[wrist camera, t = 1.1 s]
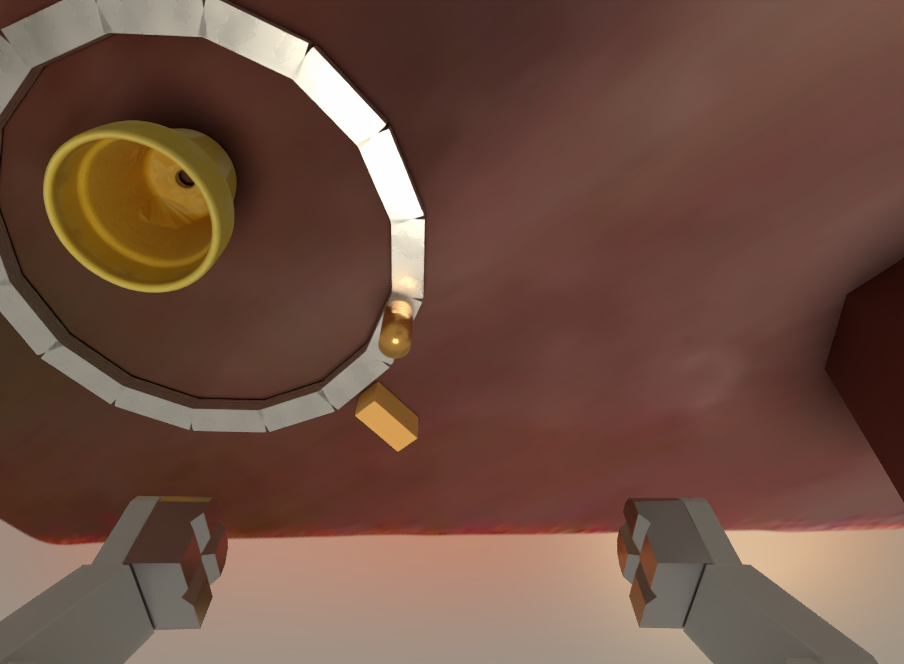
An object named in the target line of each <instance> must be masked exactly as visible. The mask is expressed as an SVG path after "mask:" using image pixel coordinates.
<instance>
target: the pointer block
mask: <svg viewBox="0 0 904 664" xmlns="http://www.w3.org/2000/svg"><path fill="white" fill-rule="evenodd" d="M355 416H356V417H357V418H358V419H360V420H361V421H362V422H363V423H364V424H366V425H367V426H368V427H369V428H370V429H372V430H373V431H374V432H375V433H376V434H378V435H379V436H380V437H381V438H382V439H383V440H385V441H386V442H387V443H388V444H389V445H391V446H392V447H393V448H394V449H395V450H397V451H400V450H401V449H403V448H404V447H405V446H407V445H408V444H410V443H411V442H413V441H414V440H416V439H417V437H418V419H419V417H417V416H416V415H415V414H414V413H413V412H412V411H411V410H410V409H409V408H407V407H406V406H405V405H404V404H403V403H402V402H401V401H400V400H398V399H397V398H396V397H395V396H394V395H393V394H392V393H391V392H389V391H388V390H387V389H386V388H385V387H384V386H383V385H382V384H380V383H379V382H376V383H375V384H374V385H372V386H371V387H370V388H368V389H367V390H366V391H364V392H363V393H362V394H360V395H359V399H358V404H357V408H356V413H355Z"/></svg>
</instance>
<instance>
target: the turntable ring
mask: <svg viewBox="0 0 904 664" xmlns="http://www.w3.org/2000/svg"><path fill="white" fill-rule="evenodd" d="M1 30H2V32H1V33H0V154H1V142H2V131H3V127H4V125H5V124H6V122H7V121H8V119H9V118H10V116H11V115H12V113H13V112H14V111H15V109H16V108H17V106H18V105H19V103H20V102H21V100H22V99H23V97H24V96H25V94H26V93H27V92H28V90H29V89H30V87H31V86H32V84H33V83H34V81H35V80H36V78H37V77H38V76H39V74H40V73H41V71H42V70H43V68H44V67H45V66H46V65H48V64H50V63H52V62H54V61H57V60H59V59H61V58H63V57H65V56H67V55H70V54H72V53H74V52H76V51H78V50H81V49H83V48H85V47H87V46H89V45H92V44H94V43H96V42H98V41H100V40H103V39H105V38H107V37H109V36H111V35H114V34H116V33H126V34H148V35H171V36H193V37H204V38H206V39H208V40H210V41H212V42H215V43H217V44H219V45H221V46H223V47H225V48H227V49H229V50H232V51H234V52H236V53H238V54H240V55H242V56H244V57H246V58H249V59H251V60H253V61H255V62H257V63H259V64H261V65H263V66H266V67H268V68H270V69H272V70H274V71H276V72H278V73H281V74H283V75H285V76H287V77H289V78H291V79H293V80H294V81H295V82H296V83H297V84H298V85H299V86H300V87H301V88H302V89H303V91H304V92H305V93H306V94H307V95H308V96H309V97H310V98H311V99H312V100H313V101H314V102H315V103H316V104H317V105H318V106H319V107H320V108H321V109H322V110H323V111H324V112H325V113H326V114H327V115H328V116H329V117H330V118H331V119H332V120H333V121H334V122H335V123H336V124H337V125H338V126H339V127H340V128H341V129H342V130H343V131H344V132H345V133H346V134H347V135H348V137H349V138H350V139H351V140H352V141H353V142H354V143H355V144H356V145H357V146H358V147H359V150H360V152H361V154H362V156H363V159H364V161H365V163H366V166H367V168H368V170H369V173H370V175H371V177H372V179H373V182H374V184H375V186H376V189H377V191H378V193H379V196H380V198H381V200H382V202H383V205H384V207H385V209H386V212H387V214H388V216H389V218H390V221H391V241H392V290H391V292H390V295H389V297H388V299H387V301H386V303H385V306H384V308H383V310H382V312H381V314H380V317H379V319H378V321H377V323H376V325H375V328H374V330H373V332H372V334H371V336H370V338H369V341H368V343H367V344H365V345H364V346H363V347H362V348H361V349H360V350H358V351H357V352H356V353H355V354H354V355H353V356H351V357H350V358H349V359H348V360H347V361H346V362H344V363H343V364H342V365H341V366H340V367H339V368H337V369H336V370H335V371H334V372H333V373H332V374H330V375H329V376H328V377H327V378H326V379H324V380H323V381H322V382H319V383H316V384H313V385H310V386H307V387H303V388H300V389H297V390H294V391H291V392H288V393H285V394H282V395H279V396H276V397H273V398H269V399H266V400H226V399H197V398H194V397H191V396H188V395H185V394H182V393H179V392H176V391H173V390H170V389H167V388H164V387H161V386H158V385H155V384H152V383H149V382H146V381H143V380H140V379H137V378H134V377H131V376H130V375H128V374H127V373H125V372H124V371H122V370H121V369H119V368H118V367H117V366H115V365H114V364H112V363H111V362H109V361H108V360H106V359H105V358H103V357H102V356H101V355H99V354H98V353H96V352H95V351H93V350H92V349H90V348H89V347H88V346H86V345H85V344H83V343H82V342H80V341H79V340H77V339H76V338H74V337H73V336H72V335H70V334H69V333H68V331H67V330H66V329H65V328H64V326H63V325H62V324H61V323H60V321H59V320H58V319H57V318H56V316H55V315H54V314H53V313H52V311H51V310H50V309H49V308H48V306H47V305H46V304H45V303H44V302H43V300H42V299H41V298H40V297H39V295H38V294H37V293H36V292H35V290H34V289H33V288H32V287H31V285H30V284H29V283H28V282H27V280H26V279H25V278H24V277H23V275H22V274H21V271H20V268H19V265H18V262H17V259H16V257H15V254H14V251H13V248H12V245H11V242H10V239H9V237H8V234H7V231H6V228H5V225H4V222H3V219H2V217H1V214H0V312H1V313H2V314H3V315H4V316H5V317H6V319H7V320H8V321H9V322H10V323H11V325H12V326H13V327H14V328H15V329H16V330H17V332H18V333H19V334H20V335H21V336H22V337H23V339H24V340H25V341H26V342H27V343H28V345H29V346H30V347H31V348H32V349H33V350H34V352H35V353H36V354H37V355H39V354H42V353H45V352H46V353H45V354H44V355H43V356H42V358H41V359H43V360H44V361H46V362H48V363H49V364H51V365H52V366H54V367H55V368H57V369H58V370H60V371H61V372H63V373H64V374H66V375H67V376H69V377H70V378H72V379H73V380H75V381H76V382H78V383H79V384H81V385H82V386H84V387H85V388H87V389H89V390H90V391H92V392H93V393H95V394H96V395H98V396H99V397H101V398H102V399H104V400H105V401H107V402H108V403H110V404H111V403H112V402H113V401H114V400H115V399H116V402H115V406H116V407H119V408H122V409H126V410H129V411H132V412H135V413H138V414H141V415H144V416H147V417H151V418H154V419H157V420H160V421H163V422H166V423H169V424H172V425H175V426H179V427H182V428H185V429H188V430H189V429H190V428H191V426H192V428H193V431H232V432H266V431H267V429H268V430H269V432H271V431H274V430H277V429H280V428H283V427H286V426H290V425H293V424H296V423H299V422H302V421H306V420H309V419H312V418H315V417H318V416H322V415H325V414H328V413H331V412H334V411H335V409H339V408H341V407H342V406H343V405H344V404H346V403H347V402H348V401H349V400H350V399H352V398H353V397H354V396H355V395H357V394H358V393H359V392H360V391H361V390H363V389H364V388H365V387H366V386H368V385H369V384H370V383H371V382H372V381H374V380H375V379H376V378H377V377H378V376H380V375H381V374H382V373H383V372H385V371H386V370H387V369H388V368H389V367H390V364H391V365H392V363H393V361H394V359H397V358H401V357H404V356H405V355H406V354H407V353H408V352H409V350H410V347H411V336H412V325H413V320H414V318H415V316H416V314H417V312H418V310H419V308H420V306H421V304H422V298H423V292H424V245H425V213H424V207H423V205H422V202H421V200H420V197H419V195H418V192H417V190H416V187H415V185H414V182H413V180H412V177H411V175H410V172H409V170H408V167H407V165H406V162H405V160H404V157H403V155H402V152H401V150H400V147H399V145H398V142H397V140H396V137H395V135H394V132H393V130H392V127H391V125H390V126H387V127H384V126H385V125H386V124H387V121H388V120H387V119H386V118H385V117H384V116H383V115H382V114H381V113H380V112H379V111H378V110H377V109H376V107H375V106H374V105H373V104H372V103H371V102H370V101H369V100H368V99H367V98H366V97H365V96H364V95H363V94H362V92H361V91H360V90H359V89H358V88H357V87H356V86H355V85H354V84H353V83H352V82H351V81H350V80H349V79H348V77H347V76H346V75H345V74H344V73H343V72H342V71H341V70H340V69H339V68H338V67H337V66H336V65H335V64H334V62H333V61H332V60H331V59H330V58H329V57H328V56H327V55H326V54H325V53H324V52H323V51H322V50H321V49H320V47H319V46H318V45H317V46H314V47H313V48H312V49H311V46H312V43H313V42H312V41H310V40H308V39H306V38H304V37H302V36H300V35H298V34H296V33H294V32H292V31H289V30H287V29H285V28H283V27H281V26H279V25H277V24H275V23H273V22H271V21H269V20H267V19H265V18H263V17H261V16H259V15H257V14H255V13H253V12H251V11H249V10H246V9H244V8H242V7H240V6H238V5H236V4H234V3H232V2H230V1H228V0H62V1H60V2H58V3H56V4H54V5H52V6H50V7H48V8H46V9H43V10H41V11H39V12H37V13H35V14H33V15H31V16H29V17H27V18H24V19H22V20H20V21H18V22H16V23H14V24H12V25H10V26H8V27H5V28H3V29H1ZM383 127H384V128H383Z"/></svg>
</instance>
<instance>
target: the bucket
mask: <svg viewBox="0 0 904 664" xmlns="http://www.w3.org/2000/svg"><path fill="white" fill-rule="evenodd" d="M825 370H826V371H827V373H828V375H829V376H830V378H831V380H832V381H833V383H834V385H835V386H836V388H837V390H838V392H839V393H840V395H841V397H842V398H843V400H844V402H845V403H846V405H847V407H848V408H849V410H850V412H851V414H852V415H853V417H854V419H855V420H856V422H857V424H858V425H859V427H860V429H861V431H862V432H863V434H864V436H865V437H866V439H867V441H868V442H869V444H870V446H871V447H872V449H873V451H874V453H875V454H876V456H877V458H878V459H879V461H880V463H881V464H882V466H883V468H884V469H885V471H886V473H887V475H888V476H889V478H890V480H891V481H892V483H893V485H894V486H895V488H896V490H897V491H898V493H899V495H900V497H901V498H902V500H903V502H904V259H902V260H900V261H899V262H897V263H896V264H894V265H893V266H891V267H890V268H888V269H886V270H885V271H883V272H882V273H880V274H879V275H877V276H875V277H874V278H872V279H871V280H869V281H868V282H866V283H865V284H863V285H861V286H860V287H858V288H857V289H855V290H854V291H852V292H850V293H849V294H847V296H846V299H845V303H844V306H843V309H842V313H841V316H840V319H839V323H838V326H837V329H836V333H835V336H834V340H833V343H832V346H831V350H830V353H829V356H828V360H827V363H826V367H825Z"/></svg>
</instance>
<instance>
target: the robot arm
mask: <svg viewBox="0 0 904 664" xmlns="http://www.w3.org/2000/svg"><path fill="white" fill-rule="evenodd" d="M623 513H624V516H625V519H626V523H625V524H624V525H622V526H621V527H620V528H619V533H618V540H617V552H618V553H617V554H618V559H619V565H620V568H621V571H622V574H623V576H624V578H626V579H627V580H628V581H629V582H630V583H631V584H632V587H631V591H630V595H629V597H630V600H631V603H632V606H633V609H634V612H635V615H636V619H637V622H638V625H639V627H645V628H683V629H684V630H683V631H684V632H685V633H686V634H687V635H688V636H689V638H691V640H692V641H693V642H694V643H695V644H696V645H697V646H698V647H699V648H700V649H701V650H702V652H703V653H704V654H705V655H706V656H707V657H708V658H709V659H710V660H711V661H712V662H713V663H714V664H878V663H877V661H876V660H875V659H874V657H873V656H872V655H871V654H869V653H868V652H867V651H865V650H864V649H863V648H861V647H860V646H858V645H857V644H856V643H855V642H853V641H852V640H851V639H849V638H848V637H846V636H845V635H844V634H843V633H841V632H840V631H838V630H837V629H836V628H834V627H833V626H832V625H830V624H829V623H828V622H826V621H825V620H824V619H822V618H821V617H820V616H818V615H817V614H816V613H814V612H813V611H812V610H810V609H809V608H807V607H806V606H805V605H803V604H802V603H801V602H799V601H798V600H797V599H795V598H794V597H793V596H791V595H790V594H788V593H787V592H786V591H785V590H783V589H782V588H780V587H779V586H778V585H777V584H775V583H774V582H772V581H771V580H770V579H768V578H767V577H766V576H764V575H763V574H762V573H760V572H759V571H758V570H756V569H755V568H754V567H752V566H751V565H742V563H741V561H740V559H739V557H738V556H737V554H736V552H735V550H734V548H733V547H732V545H731V543H730V541H729V539H728V537H727V535H726V534H725V532H724V530H723V528H722V526H721V524H720V522H719V521H718V519H717V517H716V515H715V513H714V511H713V510H712V508H711V506H710V504H709V502H708V501H707V500H706V499H704V498H678V499H677V498H629V499H628V500H627V501H626V503H625V507H624V511H623ZM220 514H221V508H220V504H219V501H218V499H216V498H211V497H175V496H163V497H157V496H137V497H136V498H135V499H133V500H132V501H131V502H130V503H129V505H128V506H127V508H126V510H125V511H124V513H123V514H122V516H121V518H120V519H119V521H118V522H117V524H116V526H115V527H114V529H113V530H112V532H111V534H110V535H109V537H108V538H107V540H106V542H105V543H104V545H103V546H102V548H101V550H100V551H99V553H98V555H97V556H96V558H95V559H94V561H93V563H92V564H91V565H82V566H81V567H80V568H78V569H76V570H75V571H73V572H72V573H71V574H69V575H68V576H66V577H65V578H63V579H62V580H60V581H59V582H57V583H56V584H54V585H53V586H52V587H50V588H49V589H47V590H46V591H44V592H43V593H41V594H40V595H38V596H37V597H36V598H34V599H32V600H31V601H29V602H28V603H27V604H25V605H24V606H22V607H21V608H19V609H18V610H16V611H15V612H13V613H12V614H10V615H9V616H7V617H6V618H5V619H3V620H2V621H0V664H124V663H125V662H126V661H127V660H128V658H130V657H131V655H132V654H134V653H135V652H136V650H138V648H140V646H141V645H143V644H144V643H145V641H147V640H148V639H149V637H150V636H151V635H152V634H153V633H154V630H168V629H199V628H201V625H202V623H203V620H204V618H205V615H206V613H207V610H208V607H209V605H210V602H211V600H212V597H213V596H212V593H211V589H210V585H211V584H212V583H213V582H214V581H215V580H217V579H218V578H219V577H220V576H221V573H222V571H223V568H224V565H225V561H226V555H227V549H228V542H227V541H228V539H227V532H226V528H225V527H224V526H223V525H222V524H221V523H220V522H218V518H219V516H220Z"/></svg>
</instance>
